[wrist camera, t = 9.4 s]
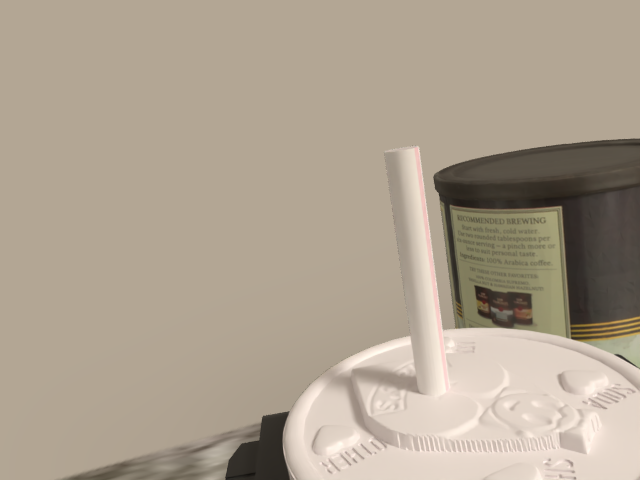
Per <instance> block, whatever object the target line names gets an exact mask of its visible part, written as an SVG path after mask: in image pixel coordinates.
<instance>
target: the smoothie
mask: <svg viewBox="0 0 640 480" xmlns="http://www.w3.org/2000/svg"><path fill="white" fill-rule="evenodd" d="M384 155H385V162H386V169H387V176H388V183H389V190H390V197H391V204H392V211H393V217H394V225H395V232H396V239H397V246H398V252H399V260H400V266H401V274H402V281H403V288H404V295H405V302H406V309H407V315H408V323H409V330H410V336H407V337H402V338H398V339H394V340H390V341H387V342H384V343H381V344H378V345H375V346H372V347H369V348H367V349H365V350H363V351H361V352H358V353H356V354H354V355H352V356H350V357H347V358H346V359H344V360H342V361H341V362H339V363H337V364H336V365H334V366H333V367H331V368H329V369H328V370H326V371H325V372H324V373H323V374H321V376H319V377H318V378H317V379H315V380H314V381H313V382H312V383H311V384H310V385H309V386H308V387H307V388H306V389H305V391H304V392H303V393H302V394H301V395H300V396H299V398H298V399H297V400H296V402H295V403H294V405H293V407H292V409H291V410H290V412H289V415H288V417H287V420H286V423H285V427H284V431H283V451H284V457H285V461H286V464H287V468H288V473H289V477H290V480H640V369H639V368H637V367H635V366H633V365H631V364H630V363H628V362H626V361H624V360H623V359H621V358H619V357H617V356H616V355H614V354H611V353H609V352H606V351H604V350H601V349H599V348H596V347H594V346H591V345H589V344H586V343H583V342H579V341H575V340H572V339H568V338H564V337H561V336H557V335H551V334H546V333H540V332H534V331H529V330H517V329H506V328H461V329H447V330H443V329H442V322H441V314H440V306H439V298H438V291H437V283H436V275H435V267H434V259H433V252H432V244H431V236H430V228H429V221H428V213H427V205H426V198H425V190H424V182H423V174H422V166H421V158H420V151H419V146H410V147H404V148H397V149H392V150H388V151H385V152H384Z"/></svg>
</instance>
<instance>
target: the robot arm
mask: <svg viewBox="0 0 640 480" xmlns="http://www.w3.org/2000/svg"><path fill="white" fill-rule="evenodd" d="M614 355H616V356H617V357H619V358H621V359H623V360H624V361H626V362H628V363H630V364H631V365H633V366H635V367H637V366H636V365H634V364H633V363H632V362H630V361H629V360H627V359H626V358H625V357H623V356H622V355H619V354H614ZM637 368H639V367H637ZM639 369H640V368H639ZM289 412H290V411H289ZM289 412H283V413H278V414H272V415H266V416H263V417H262V423H261V432H260V440H259V441H254V442H248V443H242V444H241V445H240V446H239V448H238V449H237V450H236V452H235V453H234V454H233V456H232V457H231V458H230V460H229V463H228V468H227V473H226V477H225V478H226V480H290V477H289V473H288V468H287V464H286V461H285V457H284V451H283V431H284V427H285V423H286V420H287V417H288V415H289Z"/></svg>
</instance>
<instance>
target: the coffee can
mask: <svg viewBox="0 0 640 480" xmlns="http://www.w3.org/2000/svg"><path fill="white" fill-rule="evenodd" d="M434 184H435V189H436V190H437V192H438V193H439V196H440V207H441V215H442V222H443V230H444V237H445V247H446V254H447V263H448V270H449V279H450V287H451V296H452V304H453V311H454V318H455V329H461V328H506V329H517V330H529V331H534V332H540V333H546V334H551V335H557V336H561V337H564V338H568V339H572V340H575V341H579V342H583V343H586V344H589V345H591V346H594V347H596V348H599V349H601V350H604V351H606V352H609V353H611V354H619V355H622V356H623V357H625V358H626V359H627V360H629V361H630V362H632V363H633V364H634V365H636V366H637V367H639V368H640V139H618V140H602V141H591V142H581V143H573V144H561V145H553V146H546V147H538V148H531V149H525V150H519V151H513V152H507V153H503V154H496V155H491V156H486V157H481V158H477V159H472V160H469V161H465V162H462V163H458V164H455V165H452V166H449V167H447V168H445V169H443V170H441V171H439V172H437V173H436V174H435V175H434Z"/></svg>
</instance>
